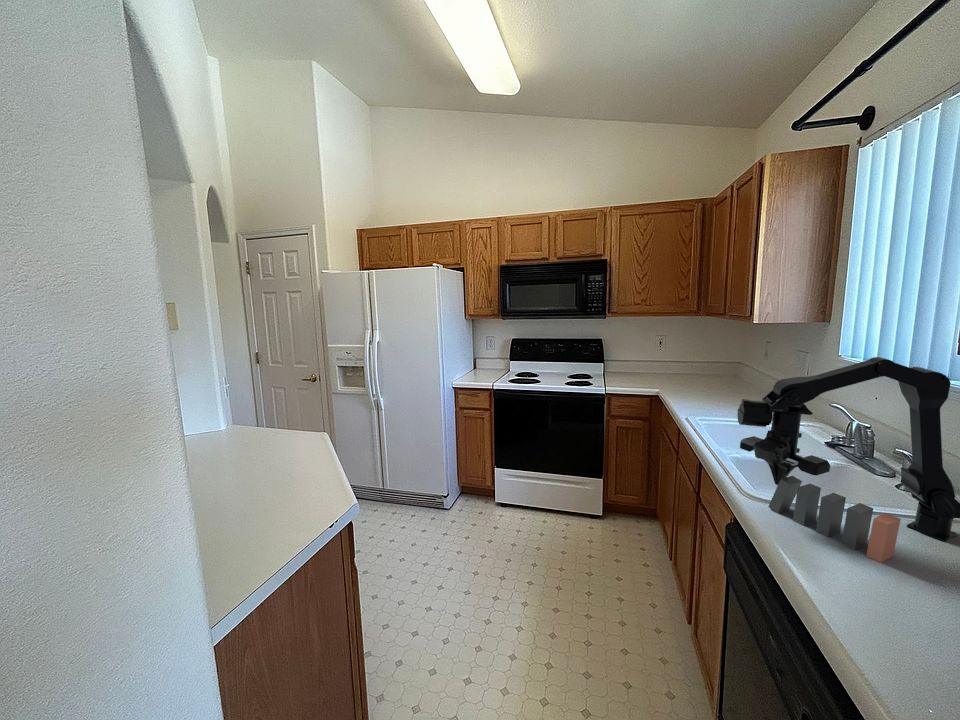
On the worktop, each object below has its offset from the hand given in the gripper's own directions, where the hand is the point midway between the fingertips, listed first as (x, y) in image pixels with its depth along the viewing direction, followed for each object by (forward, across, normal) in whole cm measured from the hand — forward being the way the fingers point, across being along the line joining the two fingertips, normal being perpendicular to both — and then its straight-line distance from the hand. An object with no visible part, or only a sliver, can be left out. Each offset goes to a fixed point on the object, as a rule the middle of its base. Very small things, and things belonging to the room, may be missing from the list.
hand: (777, 484), depth 104 cm
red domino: (+6, +22, 0) cm, 22 cm away
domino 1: (+6, +1, 0) cm, 6 cm away
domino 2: (+6, +7, 0) cm, 9 cm away
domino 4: (+6, +17, 0) cm, 18 cm away
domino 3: (+6, +12, 0) cm, 14 cm away
